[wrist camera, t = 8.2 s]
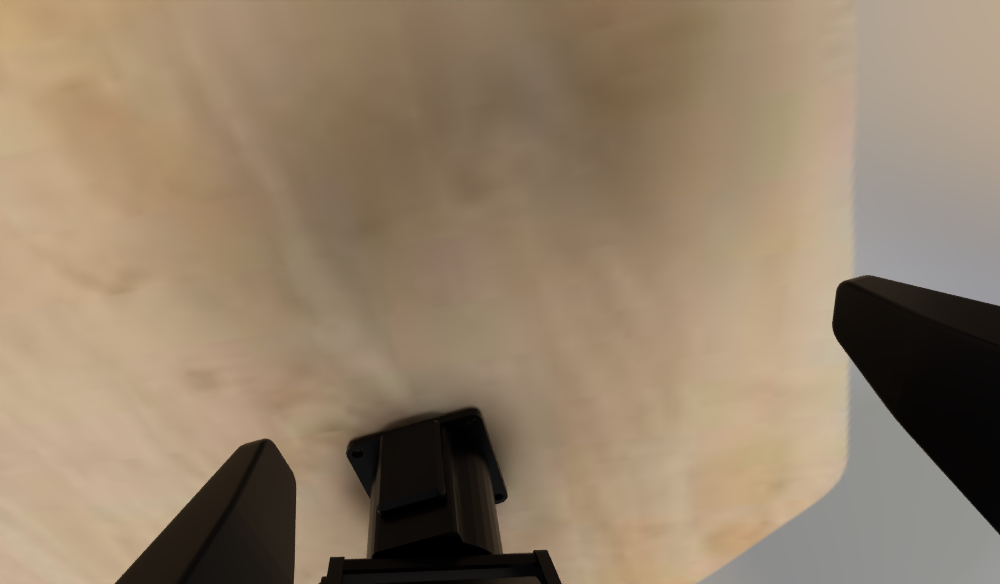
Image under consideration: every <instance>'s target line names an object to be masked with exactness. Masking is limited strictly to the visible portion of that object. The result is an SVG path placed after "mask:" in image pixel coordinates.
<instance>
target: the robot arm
mask: <svg viewBox="0 0 1000 584" xmlns="http://www.w3.org/2000/svg"><path fill="white" fill-rule="evenodd" d="M832 327H833V332H834V335H835V337H836V339H837V341H838V342H839V343H840V345H841V346H842V347H843V349H844V350H845V352H846V353H847V354H848V356H849V357H850V358H851V360H852V361H853V362H854V364H855V365H856V367H857V368H858V369H859V371H860V372H861V373H862V375H863V376H864V378H865V379H866V380H867V382H868V383H869V384H870V386H871V387H872V388H873V390H874V391H875V393H876V394H877V395H878V397H879V398H880V399H881V401H882V402H883V403H884V405H885V406H886V407H887V409H888V410H889V411H890V412H891V414H892V415H893V416H894V418H895V419H896V420H897V421H898V422H899V423H900V425H901V426H902V427H903V428H904V429H905V430H906V432H907V433H908V434H909V435H910V436H911V437H912V438H913V439H914V440H915V441H916V443H917V444H918V445H919V446H920V447H921V448H922V449H923V450H924V452H925V453H926V454H927V455H928V456H929V457H930V458H931V459H932V460H933V462H934V463H935V464H936V465H937V466H938V467H939V468H940V469H941V470H942V471H943V472H944V474H945V475H946V476H947V477H948V478H949V479H950V480H951V481H952V482H953V484H954V485H955V486H956V487H957V488H958V489H959V490H960V491H961V492H962V493H963V495H964V496H965V497H966V498H967V499H968V500H969V501H970V502H971V504H972V505H973V506H974V507H975V508H976V509H977V510H978V511H979V512H980V514H981V515H982V516H983V517H984V518H985V519H986V520H987V521H988V522H989V523H990V525H991V526H992V527H993V528H994V529H995V530H996V531H997V532H998V533H999V535H1000V306H997V305H993V304H989V303H985V302H980V301H976V300H972V299H968V298H964V297H959V296H955V295H951V294H947V293H943V292H938V291H934V290H930V289H926V288H922V287H917V286H913V285H909V284H905V283H901V282H896V281H892V280H888V279H884V278H880V277H875V276H870V275H865V276H860V277H857V278H853V279H849V280H846V281H843V282H842V283H840V284H839V286H838V287H837V290H836V297H835V305H834V313H833V321H832ZM469 419H475V420H473V421H468V420H469ZM355 450H360V451H359V452H357V451H355ZM346 454H347V458H348V459H349V461H350V463H351V465H352V467H353V469H354V470H355V472H356V474H357V476H358V478H359V479H360V481H361V483H362V485H363V487H364V489H365V490H366V492H367V494H368V496H369V498H370V500H371V501H370V516H369V530H368V544H367V559H345V557H330V561H329V567H328V573H327V576H325V577H322V579H321V582H320V583H319V584H562V583H561V581H560V579H559V576H558V574H557V572H556V570H555V567H554V565H553V563H552V560H551V558H550V556H549V553H548V551H547V550H534V551H533V553H510V554H503V550H502V544H501V538H500V532H499V526H498V519H497V513H496V507H495V504H499V503H502V502H504V501H505V500H506V499H507V497H508V496H507V490H506V486H505V483H504V480H503V477H502V474H501V471H500V468H499V465H498V462H497V459H496V456H495V453H494V450H493V447H492V444H491V441H490V438H489V435H488V432H487V429H486V426H485V423H484V420H483V417H482V414H481V413H480V411H478V410H476V409H468V410H464V411H460V412H457V413H453V414H449V415H446V416H442V417H438V418H435V419H431V420H428V421H424V422H420V423H417V424H413V425H409V426H406V427H402V428H398V429H395V430H391V431H387V432H384V433H380V434H376V435H373V436H369V437H365V438H362V439H358V440H354V441H352V442H350V443H349V444H348V447H347V453H346ZM295 520H296V481H295V477H294V474H293V472H292V470H291V469H290V467H289V465H288V464H287V462H286V461H285V459H284V458H283V456H282V454H281V453H280V451H279V450H278V448H277V447H276V445H275V444H274V443H273V441H271V440H270V439H261V440H257V441H254V442H250V443H246V444H244V445H242V446H240V447H239V448H238V449H237V450H236V451H235V452H234V453H233V454H232V455H231V457H230V458H229V459H228V460H227V461H226V462H225V463H224V464H223V465H222V466H221V468H220V469H219V470H218V471H217V472H216V473H215V474H214V475H213V476H212V477H211V479H210V480H209V481H208V482H207V483H206V484H205V485H204V486H203V487H202V488H201V490H200V491H199V492H198V493H197V494H196V495H195V496H194V497H193V498H192V499H191V500H190V502H189V503H188V504H187V505H186V506H185V507H184V508H183V509H182V510H181V511H180V513H179V514H178V515H177V516H176V517H175V518H174V519H173V520H172V521H171V522H170V524H169V525H168V526H167V527H166V528H165V529H164V530H163V531H162V532H161V533H160V535H159V536H158V537H157V538H156V539H155V540H154V541H153V542H152V543H151V544H150V545H149V547H148V548H147V549H146V550H145V551H144V552H143V553H142V554H141V555H140V556H139V558H138V559H137V560H136V561H135V562H134V563H133V564H132V565H131V566H130V567H129V569H128V570H127V571H126V572H125V573H124V574H123V575H122V576H121V577H120V578H119V579H118V581H117V582H116V583H115V584H294V564H295Z"/></svg>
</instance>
